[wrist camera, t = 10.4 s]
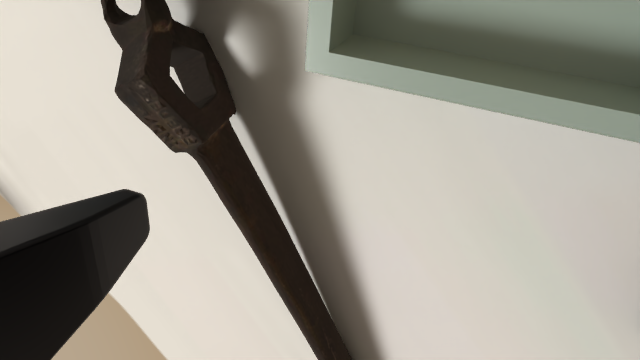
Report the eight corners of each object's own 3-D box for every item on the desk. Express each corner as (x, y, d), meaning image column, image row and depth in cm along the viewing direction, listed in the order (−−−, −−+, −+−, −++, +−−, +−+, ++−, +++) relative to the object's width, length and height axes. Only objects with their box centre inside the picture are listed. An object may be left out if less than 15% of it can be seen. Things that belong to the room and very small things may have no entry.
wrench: (342, 432, 35) (94, -4, 23) (415, 435, 33) (181, -48, 21) (318, 512, 31) (2, 31, 19) (400, 522, 29) (98, -19, 17)
